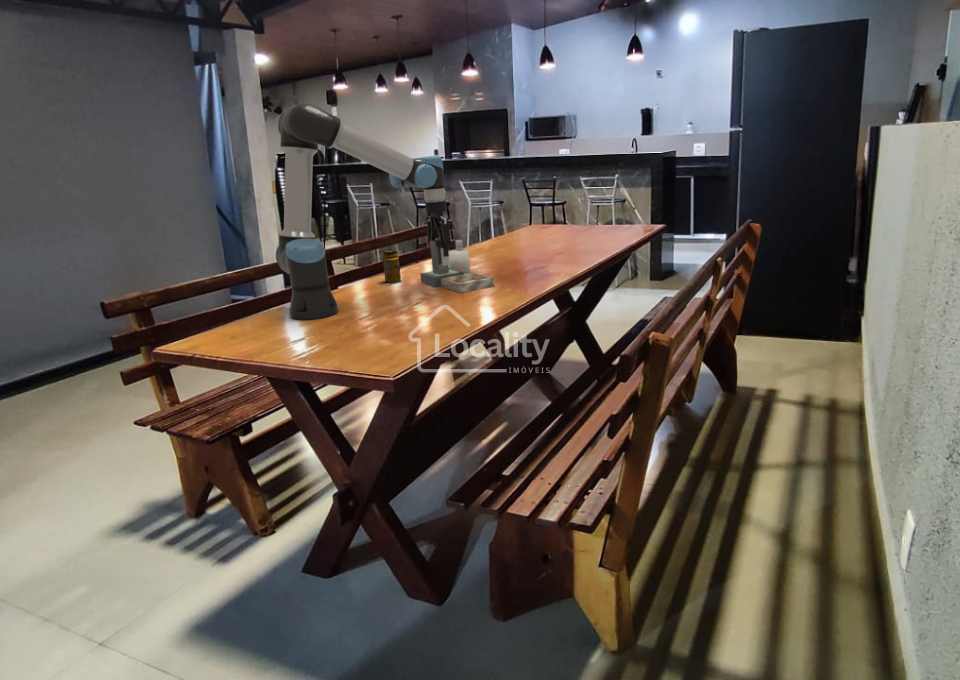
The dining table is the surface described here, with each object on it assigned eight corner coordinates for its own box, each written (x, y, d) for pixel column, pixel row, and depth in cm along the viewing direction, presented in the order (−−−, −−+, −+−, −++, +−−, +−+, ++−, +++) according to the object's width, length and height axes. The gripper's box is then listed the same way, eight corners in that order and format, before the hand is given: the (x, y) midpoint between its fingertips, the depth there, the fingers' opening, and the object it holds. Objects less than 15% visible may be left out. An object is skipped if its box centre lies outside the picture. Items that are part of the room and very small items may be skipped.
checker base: (435, 287, 241) (434, 275, 240) (421, 282, 251) (419, 271, 250) (465, 281, 246) (464, 270, 245) (449, 277, 257) (448, 266, 256)
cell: (438, 274, 245) (435, 239, 241) (432, 272, 248) (429, 238, 245) (448, 272, 247) (445, 237, 243) (443, 271, 251) (440, 236, 247)
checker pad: (436, 280, 242) (436, 276, 242) (426, 276, 250) (425, 272, 250) (458, 276, 246) (458, 272, 246) (447, 273, 254) (447, 269, 254)
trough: (459, 292, 229) (458, 284, 228) (441, 286, 241) (440, 278, 240) (494, 286, 236) (494, 277, 235) (475, 280, 248) (474, 272, 247)
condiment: (405, 281, 256) (402, 250, 253) (388, 285, 251) (384, 253, 247) (394, 279, 261) (391, 248, 258) (376, 283, 256) (372, 252, 252)
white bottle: (455, 276, 257) (452, 243, 253) (446, 274, 263) (443, 241, 260) (473, 273, 260) (471, 240, 257) (464, 271, 267) (461, 238, 263)
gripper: (457, 200, 234) (462, 265, 240) (432, 198, 251) (438, 259, 257) (438, 203, 230) (444, 268, 237) (414, 200, 247) (420, 262, 254)
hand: (441, 263), depth 247 cm, fingers open, 7 cm apart
